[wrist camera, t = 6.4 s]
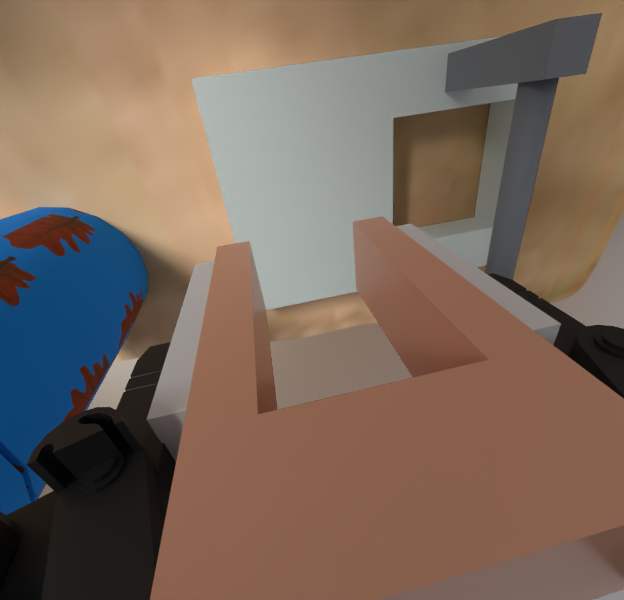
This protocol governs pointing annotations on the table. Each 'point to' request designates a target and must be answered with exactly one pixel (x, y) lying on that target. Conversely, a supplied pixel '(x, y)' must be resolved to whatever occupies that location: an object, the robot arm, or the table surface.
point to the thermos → (57, 328)
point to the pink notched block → (394, 454)
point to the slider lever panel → (378, 148)
